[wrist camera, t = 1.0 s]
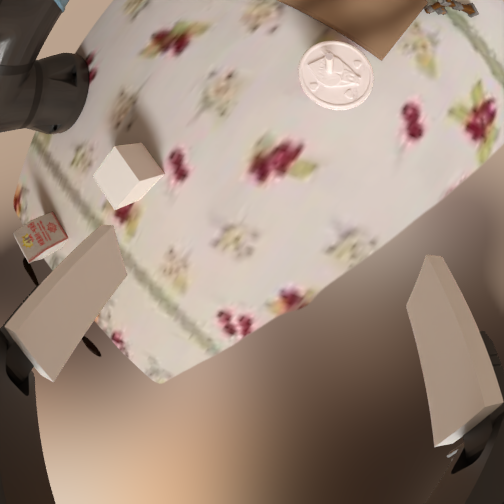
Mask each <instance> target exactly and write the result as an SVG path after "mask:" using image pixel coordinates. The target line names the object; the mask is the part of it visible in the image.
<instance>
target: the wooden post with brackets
mask: <svg viewBox="0 0 504 504" xmlns="http://www.w3.org/2000/svg"><path fill="white" fill-rule="evenodd" d="M437 1H438V2H436V3H435V4H433V5H430V6H428V8H426V9H425V11H426V13H429V14H430V13H431V12H434V11H436V12H437V13H438V15H439V14H443V15H444V14H446V13H447V10H446V9H445V6H446V7H447V6H449V7H452V9H455V10H459V11H460V10H462V11H464V12H466V13H468V15H469V17H473V16H476V15H478V14H479V13H478V11H477V9H476V8H475V6H474V4H473V3H470V4H467V5H464V4H461V3H460V2H457V1H455V0H452V1H451V0H437Z"/></svg>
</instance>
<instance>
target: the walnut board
mask: <svg viewBox="0 0 504 504" xmlns="http://www.w3.org/2000/svg"><path fill="white" fill-rule="evenodd" d="M278 1H280V2H282V3H284V4H286V5H289V6H291V7H293V8H295V9H297V10H299V11H301V12H303V13H305V14H307V15H309V16H311V17H313V18H315V19H317V20H318V21H320V22H322V23H324V24H326V25H327V26H329V27H331V28H333V29H334V30H336V31H338V32H339V33H341V34H343V35H344V36H346V37H348V38H349V39H351V40H352V41H354V42H355V43H357V44H358V45H360V46H361V47H363V48H364V49H366V50H367V51H369V52H370V53H372V54H373V55H374V56H376V57H377V58H379V59H380V60H381V61H382V60H383V58H384V57H385V56H386V55H387V53H388V52H389V51H390V49H391V48H392V47H393V46H394V44H395V43H396V42H397V41H398V39H399V38H400V37H401V36H402V34H403V33H404V32H405V31H406V29H407V28H408V27H409V26H410V24H411V23H412V22H413V21H414V19H415V18H416V17H417V16H418V14H419V13H420V12H421V11H422V9H423V8H424V7H425V6H426V4H427V3H428V2H427V1H426V0H278Z"/></svg>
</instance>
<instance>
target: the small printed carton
mask: <svg viewBox="0 0 504 504" xmlns="http://www.w3.org/2000/svg"><path fill="white" fill-rule="evenodd" d="M13 235H14V237H15V239H16V241H17V243H18V244H19V246H20V248H21V250H22V252H23V254H24V256H25V257H26V259H27V261H28V263H30V262H33V261H36V260H39V259H43V258H44V257H46V256H48V255H50V254H52V253H53V252H55V251H57V250H59V249H61V248H63V246H64V244H65V243H66V241H67V240H68V237H67V235H66V234H65V232H64V230H63V229H62V227H61V225H60V223H59V222H58V220H57V218H56V217H55V215H54V213H53V212H50V213H48V214H45V215H43V216H41V217H38V218H36V219H33V220H31V221H30V222H28V223H27V224H25V225H24V226H22V227H21V228H20V229H18V230H17V231H15V232H13Z"/></svg>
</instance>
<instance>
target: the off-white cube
mask: <svg viewBox="0 0 504 504" xmlns="http://www.w3.org/2000/svg"><path fill="white" fill-rule="evenodd" d="M163 175H164V172H163V171H162V170H161V168H160V167H159V166H158V164H157V163H156V161H155V160H154V159H153V157H152V156H151V155H150V153H149V152H148V151H147V149H146V148H145V147H144V145H143V144H142V143H135V144H126V145H119V146H114V148H113V149H112V150H111V152H110V153H109V154H108V156H107V157H106V158H105V160H104V161H103V162H102V164H101V165H100V167H99V168H98V169H97V171H96V172H95V174H94V175H93V178H94V180H95V181H96V183H97V184H98V186H99V187H100V189H101V190H102V192H103V193H104V195H105V196H106V198H107V199H108V201H109V202H110V204H111V205H112V207H113V208H114V209H115V210H116V209H119V208H121V207H123V206H126V205H128V204H131V203H133V202H136V201H138V200H140V199H141V198H142V197H143V196H144V195H145V194H146V193H147V192H148V191H149V190H150V189H151V188H152V187H153V186H154V185H155V184H156V182H157V181H158V180H159V179H160V178H161V177H162V176H163Z"/></svg>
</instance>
